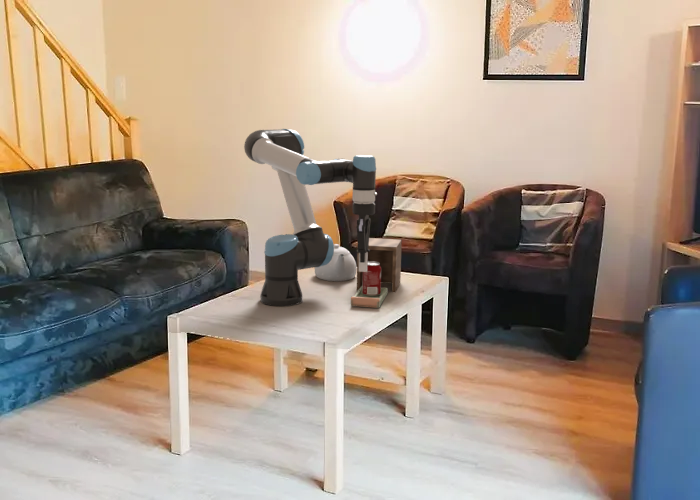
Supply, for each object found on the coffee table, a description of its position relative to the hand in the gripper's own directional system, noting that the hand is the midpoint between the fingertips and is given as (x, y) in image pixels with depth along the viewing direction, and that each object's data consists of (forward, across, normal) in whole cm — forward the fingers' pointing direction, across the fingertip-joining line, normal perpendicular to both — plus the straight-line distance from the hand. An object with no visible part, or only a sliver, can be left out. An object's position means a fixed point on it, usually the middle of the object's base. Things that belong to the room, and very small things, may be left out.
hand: (362, 271), depth 266 cm
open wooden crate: (+15, +38, 0) cm, 40 cm away
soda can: (+14, +20, 0) cm, 24 cm away
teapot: (+15, +49, +20) cm, 55 cm away
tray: (+15, +17, 0) cm, 22 cm away
